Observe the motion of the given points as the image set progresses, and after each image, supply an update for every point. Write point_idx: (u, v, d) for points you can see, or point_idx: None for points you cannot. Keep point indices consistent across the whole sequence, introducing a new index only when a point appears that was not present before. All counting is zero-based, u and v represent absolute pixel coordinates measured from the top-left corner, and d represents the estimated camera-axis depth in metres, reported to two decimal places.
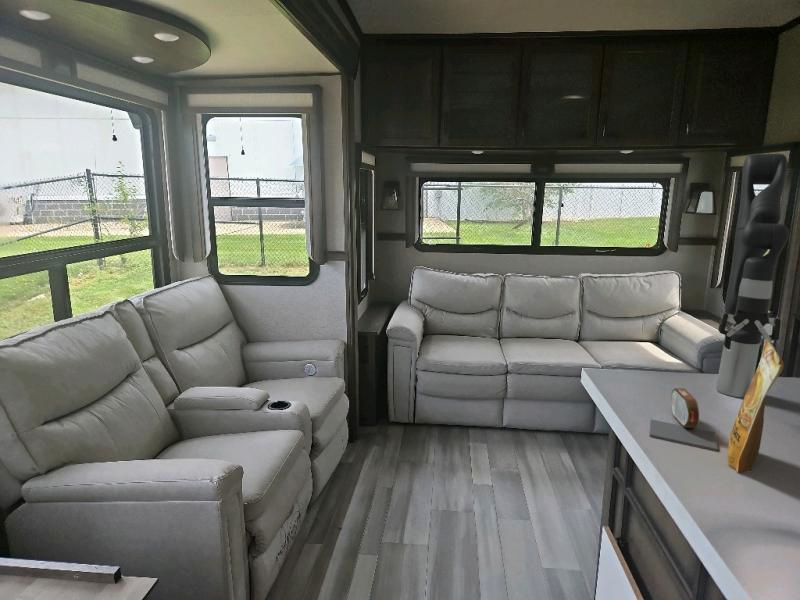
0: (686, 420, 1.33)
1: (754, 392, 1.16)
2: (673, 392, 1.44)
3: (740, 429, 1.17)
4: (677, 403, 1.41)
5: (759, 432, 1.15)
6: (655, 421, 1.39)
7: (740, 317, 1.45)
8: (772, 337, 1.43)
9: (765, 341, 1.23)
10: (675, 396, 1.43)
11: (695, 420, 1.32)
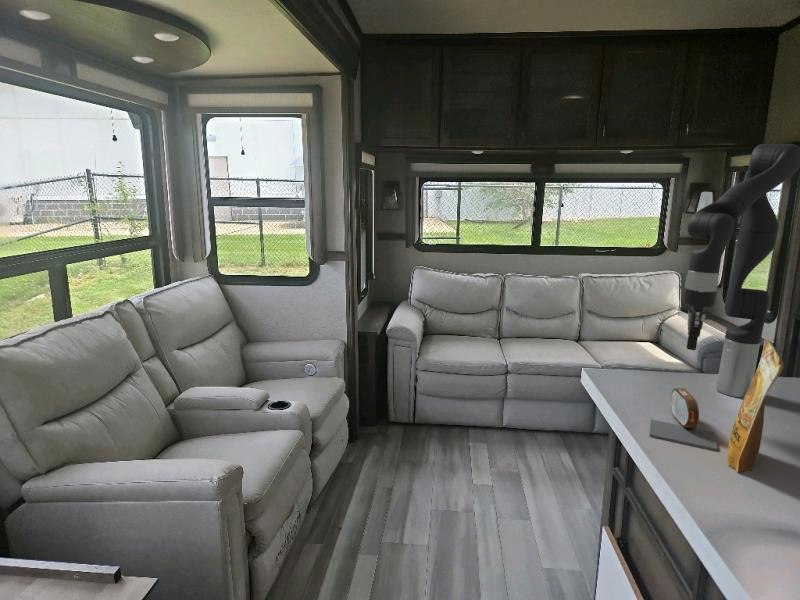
0: (686, 420, 1.33)
1: (754, 392, 1.16)
2: (673, 392, 1.44)
3: (740, 429, 1.17)
4: (677, 403, 1.41)
5: (759, 432, 1.15)
6: (655, 421, 1.39)
7: None
8: (696, 330, 1.43)
9: (765, 341, 1.23)
10: (675, 396, 1.43)
11: (695, 420, 1.32)
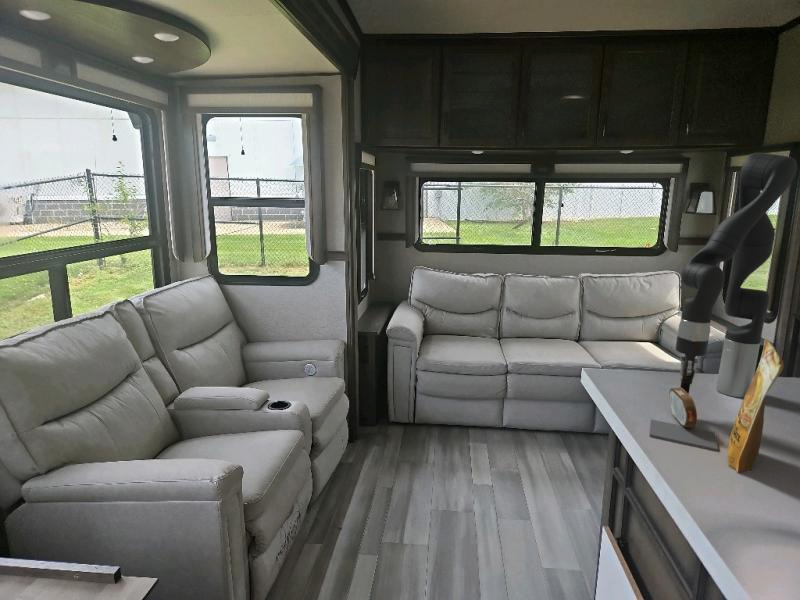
0: (685, 420, 1.34)
1: (754, 392, 1.16)
2: (670, 392, 1.44)
3: (740, 429, 1.17)
4: (675, 403, 1.41)
5: (759, 432, 1.15)
6: (655, 421, 1.39)
7: (694, 361, 1.39)
8: None
9: (765, 341, 1.23)
10: (672, 396, 1.43)
11: (694, 419, 1.32)
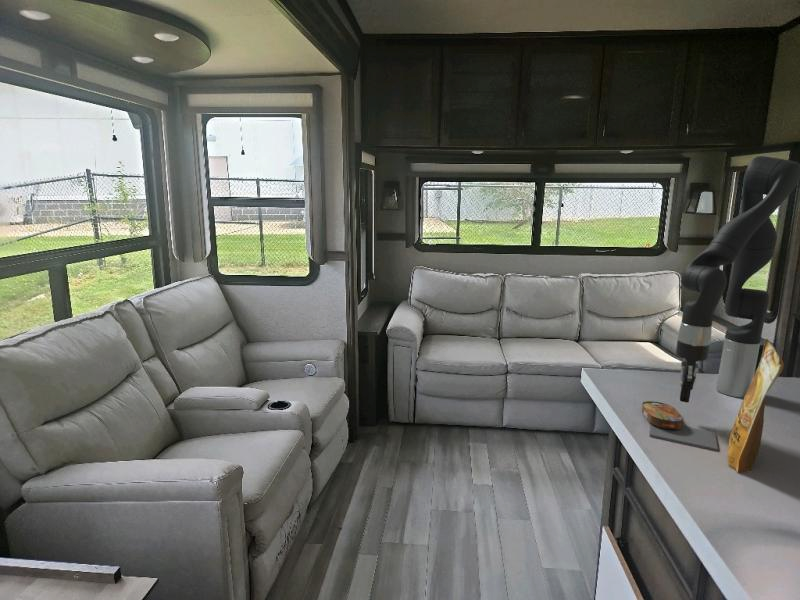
0: None
1: (754, 392, 1.16)
2: None
3: (740, 429, 1.17)
4: None
5: (759, 432, 1.15)
6: None
7: None
8: None
9: (765, 341, 1.23)
10: None
11: (673, 422, 1.33)
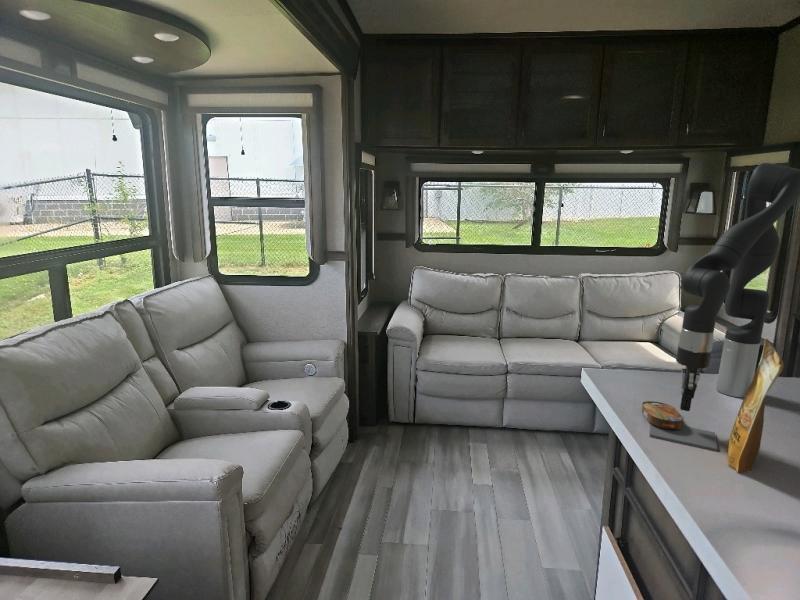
0: None
1: (754, 392, 1.16)
2: None
3: (740, 429, 1.17)
4: None
5: (759, 432, 1.15)
6: None
7: (696, 373, 1.30)
8: None
9: (765, 341, 1.23)
10: None
11: (673, 422, 1.33)
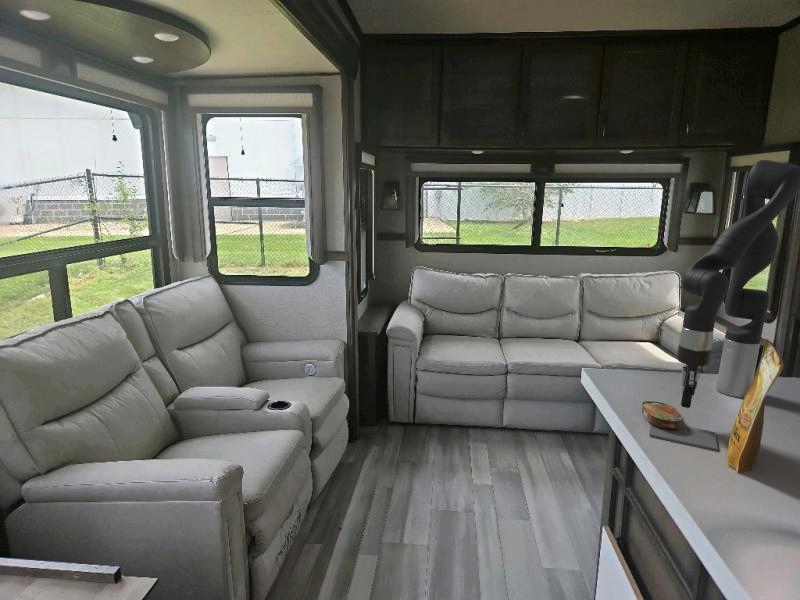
0: None
1: (754, 392, 1.16)
2: None
3: (740, 429, 1.17)
4: None
5: (759, 432, 1.15)
6: None
7: (696, 371, 1.33)
8: None
9: (765, 341, 1.23)
10: None
11: (673, 422, 1.33)
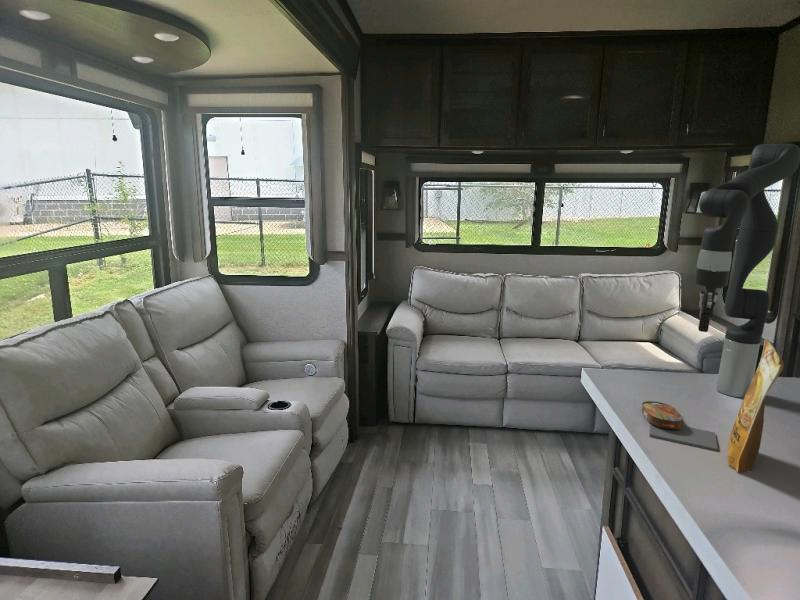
0: None
1: (754, 392, 1.16)
2: None
3: (740, 429, 1.17)
4: None
5: (759, 432, 1.15)
6: None
7: (715, 293, 1.33)
8: (708, 312, 1.39)
9: (765, 341, 1.23)
10: None
11: (673, 422, 1.33)
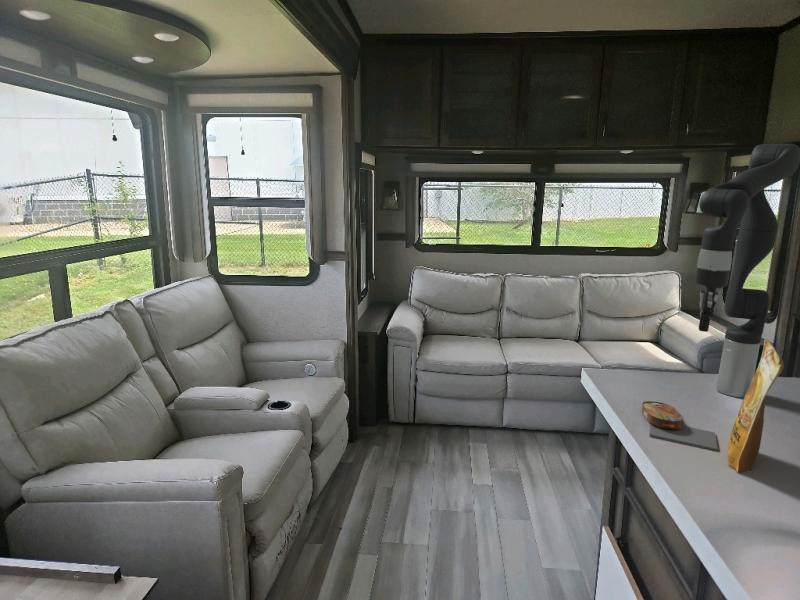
0: None
1: (754, 392, 1.16)
2: None
3: (740, 429, 1.17)
4: None
5: (759, 432, 1.15)
6: None
7: None
8: None
9: (765, 341, 1.23)
10: None
11: (673, 422, 1.33)
